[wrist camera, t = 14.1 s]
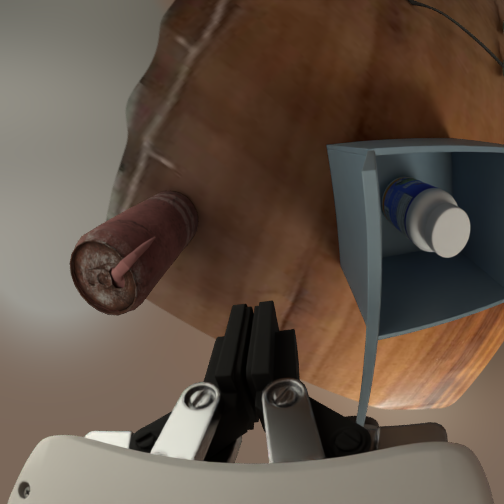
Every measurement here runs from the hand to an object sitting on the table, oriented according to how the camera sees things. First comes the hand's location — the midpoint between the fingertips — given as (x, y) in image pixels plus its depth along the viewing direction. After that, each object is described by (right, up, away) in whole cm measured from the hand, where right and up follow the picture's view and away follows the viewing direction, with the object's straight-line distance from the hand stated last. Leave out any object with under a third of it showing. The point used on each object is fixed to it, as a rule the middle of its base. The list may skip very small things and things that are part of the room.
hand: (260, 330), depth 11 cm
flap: (+5, +1, 0) cm, 6 cm away
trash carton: (+15, +9, +14) cm, 22 cm away
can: (-9, +7, +17) cm, 20 cm away
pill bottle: (+15, +9, +14) cm, 22 cm away
